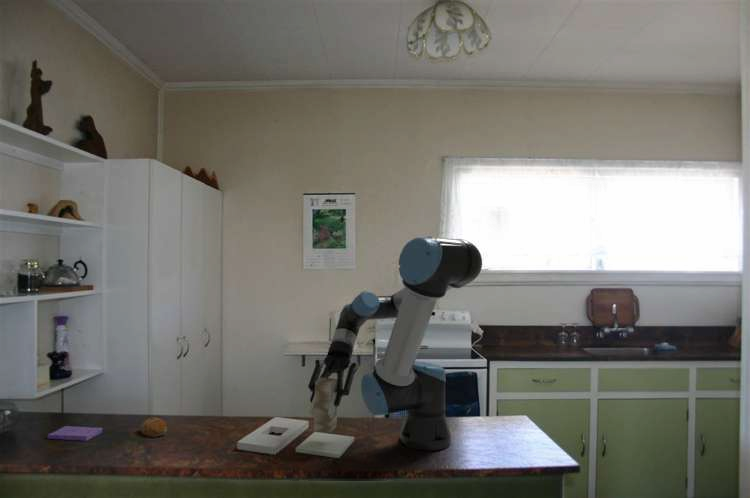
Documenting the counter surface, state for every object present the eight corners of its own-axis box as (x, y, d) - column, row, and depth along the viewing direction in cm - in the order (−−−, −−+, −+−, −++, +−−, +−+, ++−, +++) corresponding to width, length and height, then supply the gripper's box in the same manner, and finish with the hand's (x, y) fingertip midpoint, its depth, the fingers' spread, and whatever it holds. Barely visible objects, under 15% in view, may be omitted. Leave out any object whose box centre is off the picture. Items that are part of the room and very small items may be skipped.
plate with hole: (308, 427, 144) (308, 421, 144) (275, 454, 122) (275, 447, 123) (275, 423, 147) (275, 417, 147) (237, 449, 126) (237, 441, 126)
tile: (354, 440, 133) (354, 436, 133) (338, 458, 121) (338, 454, 121) (314, 435, 137) (314, 431, 137) (295, 451, 125) (295, 448, 125)
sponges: (86, 442, 130) (86, 435, 130) (46, 440, 131) (46, 433, 131) (102, 433, 137) (103, 427, 137) (65, 431, 138) (65, 425, 138)
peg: (336, 426, 131) (337, 379, 132) (330, 432, 127) (331, 383, 127) (320, 424, 133) (321, 377, 133) (314, 430, 128) (315, 381, 128)
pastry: (172, 434, 137) (172, 422, 137) (149, 440, 132) (149, 427, 132) (160, 426, 143) (160, 414, 143) (138, 432, 138) (138, 419, 138)
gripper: (371, 355, 143) (353, 424, 126) (319, 351, 148) (295, 417, 131) (366, 341, 138) (347, 411, 121) (313, 337, 143) (287, 404, 126)
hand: (320, 414), depth 126 cm, fingers closed on peg, 5 cm apart
